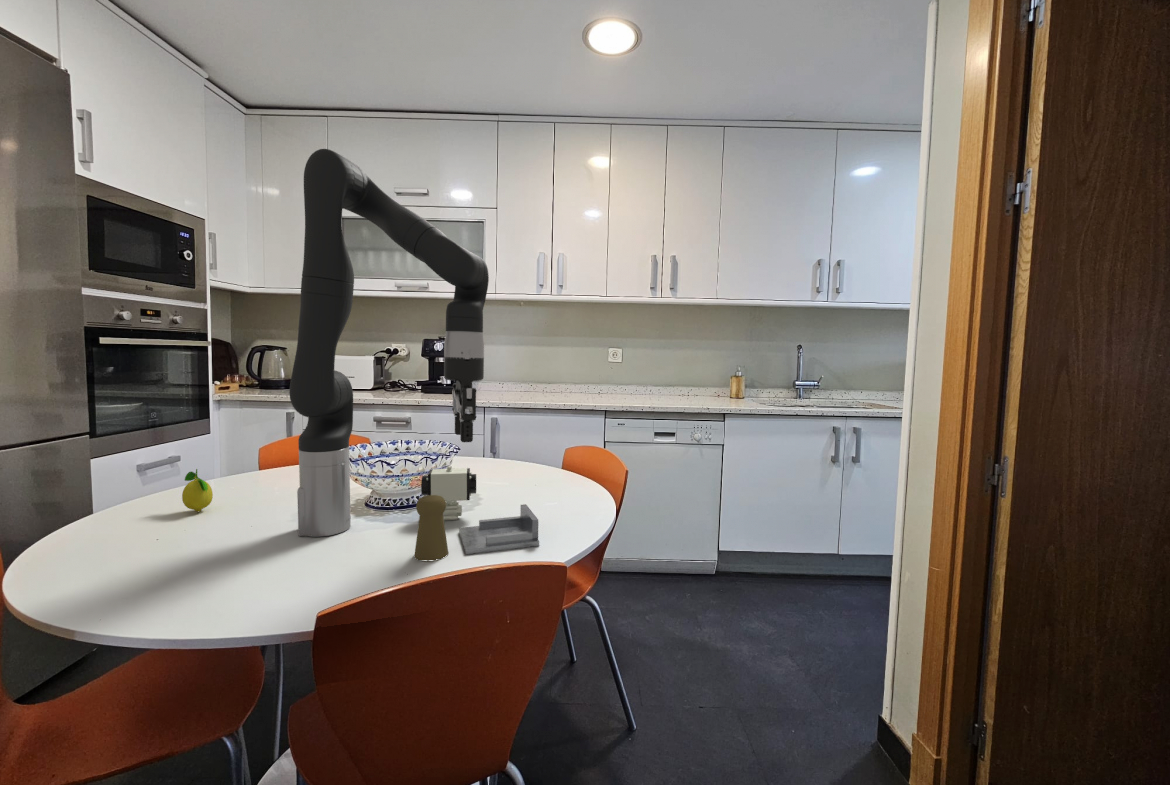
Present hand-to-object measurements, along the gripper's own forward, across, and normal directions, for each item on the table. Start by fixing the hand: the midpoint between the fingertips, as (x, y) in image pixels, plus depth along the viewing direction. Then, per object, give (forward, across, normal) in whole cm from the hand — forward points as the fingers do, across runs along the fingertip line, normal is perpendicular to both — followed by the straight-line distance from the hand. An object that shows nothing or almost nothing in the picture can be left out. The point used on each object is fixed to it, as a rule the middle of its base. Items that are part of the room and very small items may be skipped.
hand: (463, 438), depth 98 cm
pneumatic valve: (+21, -14, -1) cm, 25 cm away
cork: (+21, +6, -6) cm, 22 cm away
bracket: (+20, +2, +7) cm, 22 cm away
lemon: (+22, -37, -54) cm, 69 cm away
